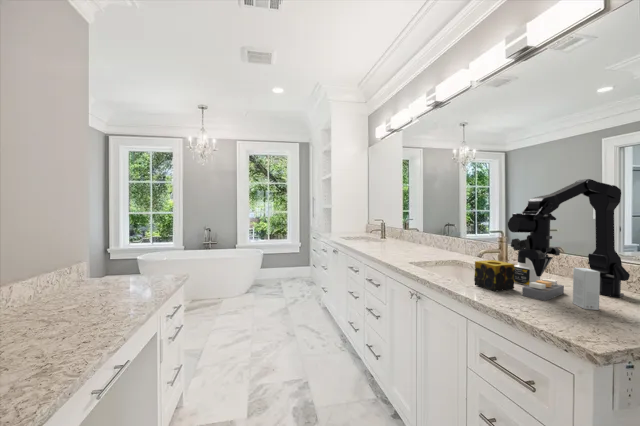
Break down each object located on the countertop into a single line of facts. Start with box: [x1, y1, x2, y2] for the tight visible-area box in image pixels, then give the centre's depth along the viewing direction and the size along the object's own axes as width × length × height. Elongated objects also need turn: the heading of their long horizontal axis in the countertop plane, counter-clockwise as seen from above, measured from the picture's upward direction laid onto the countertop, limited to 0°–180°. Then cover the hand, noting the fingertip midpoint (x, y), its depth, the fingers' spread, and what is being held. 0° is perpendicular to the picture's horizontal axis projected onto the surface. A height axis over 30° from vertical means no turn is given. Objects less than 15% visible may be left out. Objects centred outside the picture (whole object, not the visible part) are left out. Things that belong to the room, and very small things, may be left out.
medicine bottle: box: [514, 256, 541, 286], centre depth 125 cm, size 7×7×12 cm
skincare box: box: [572, 267, 601, 311], centre depth 96 cm, size 6×4×12 cm
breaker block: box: [521, 283, 565, 302], centre depth 109 cm, size 16×7×3 cm, turn 123°
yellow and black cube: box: [473, 259, 515, 292], centre depth 119 cm, size 10×10×10 cm
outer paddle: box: [529, 282, 546, 289], centre depth 106 cm, size 3×4×1 cm, turn 33°
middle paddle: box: [536, 279, 552, 287], centre depth 109 cm, size 3×4×1 cm, turn 33°
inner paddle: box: [541, 278, 558, 285], centre depth 111 cm, size 3×4×1 cm, turn 33°
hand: (538, 276), depth 107 cm, fingers closed
